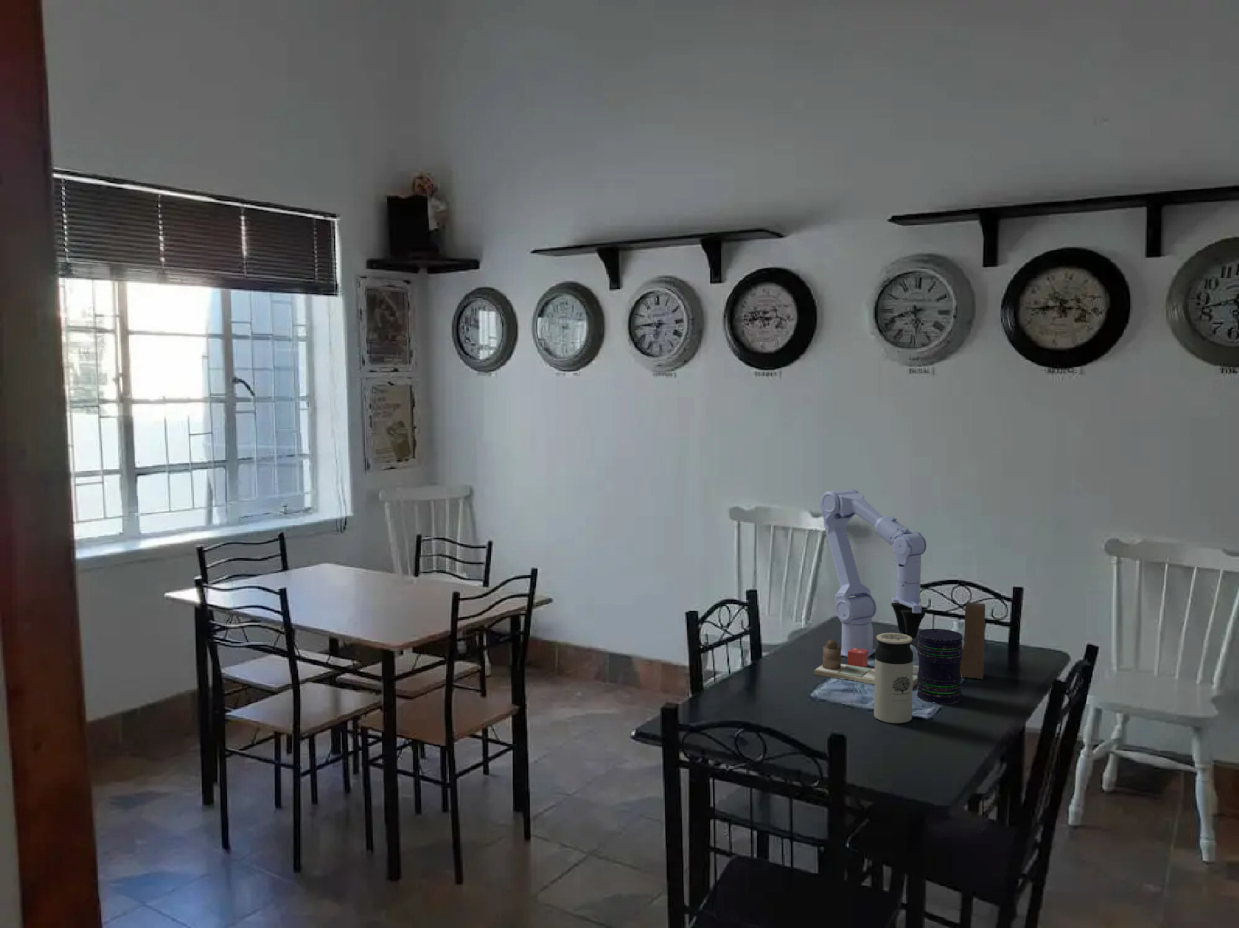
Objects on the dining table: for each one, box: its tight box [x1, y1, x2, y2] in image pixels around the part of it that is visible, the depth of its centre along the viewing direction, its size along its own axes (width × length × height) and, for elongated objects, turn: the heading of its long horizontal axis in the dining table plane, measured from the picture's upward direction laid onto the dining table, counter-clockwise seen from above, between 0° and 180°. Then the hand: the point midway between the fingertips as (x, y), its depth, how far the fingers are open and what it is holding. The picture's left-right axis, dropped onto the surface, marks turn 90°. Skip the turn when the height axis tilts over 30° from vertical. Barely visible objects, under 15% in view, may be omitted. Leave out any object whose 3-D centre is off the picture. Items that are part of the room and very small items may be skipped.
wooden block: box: [960, 602, 986, 680], centre depth 245 cm, size 9×4×18 cm, turn 68°
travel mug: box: [873, 632, 914, 724], centre depth 215 cm, size 8×8×18 cm
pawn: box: [822, 639, 842, 670], centre depth 249 cm, size 4×4×7 cm
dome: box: [910, 644, 919, 666], centre depth 249 cm, size 7×7×5 cm
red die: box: [846, 648, 869, 668], centre depth 254 cm, size 4×4×4 cm
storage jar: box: [916, 628, 963, 705], centre depth 229 cm, size 10×10×15 cm
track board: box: [813, 663, 918, 689], centre depth 245 cm, size 9×24×1 cm, turn 58°
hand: (907, 634), depth 248 cm, fingers open, 6 cm apart
